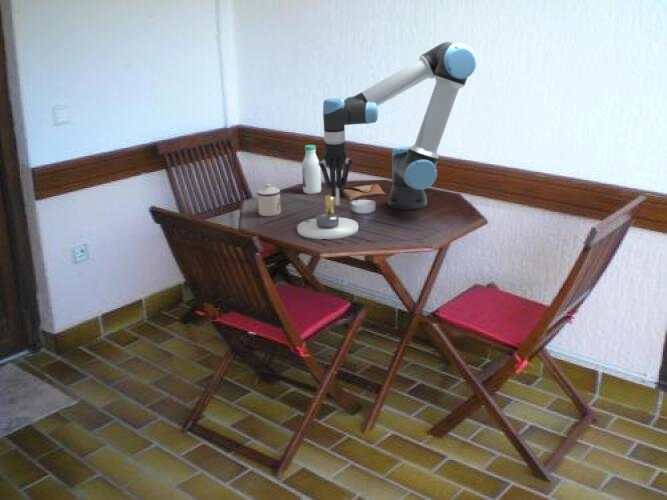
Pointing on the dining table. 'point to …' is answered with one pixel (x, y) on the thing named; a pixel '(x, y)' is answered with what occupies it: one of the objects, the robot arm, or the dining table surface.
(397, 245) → the dining table surface
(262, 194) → the teacup with lid
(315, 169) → the milk bottle
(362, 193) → the sunglasses case
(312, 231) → the dial plate
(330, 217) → the lever
